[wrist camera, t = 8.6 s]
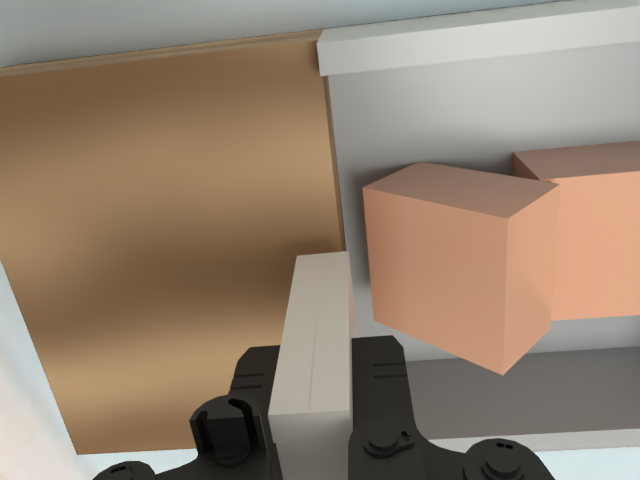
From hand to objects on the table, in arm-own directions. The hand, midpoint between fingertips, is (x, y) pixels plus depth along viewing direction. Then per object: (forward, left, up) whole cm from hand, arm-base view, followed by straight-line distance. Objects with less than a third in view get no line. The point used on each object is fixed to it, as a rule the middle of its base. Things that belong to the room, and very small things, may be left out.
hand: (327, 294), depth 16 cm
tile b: (0, +9, -2) cm, 9 cm away
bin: (0, +7, -5) cm, 9 cm away
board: (0, -5, -5) cm, 7 cm away
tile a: (0, +5, -3) cm, 6 cm away
